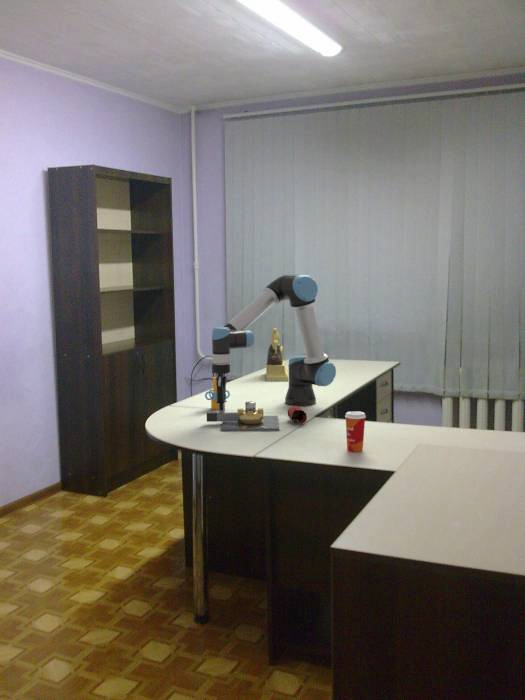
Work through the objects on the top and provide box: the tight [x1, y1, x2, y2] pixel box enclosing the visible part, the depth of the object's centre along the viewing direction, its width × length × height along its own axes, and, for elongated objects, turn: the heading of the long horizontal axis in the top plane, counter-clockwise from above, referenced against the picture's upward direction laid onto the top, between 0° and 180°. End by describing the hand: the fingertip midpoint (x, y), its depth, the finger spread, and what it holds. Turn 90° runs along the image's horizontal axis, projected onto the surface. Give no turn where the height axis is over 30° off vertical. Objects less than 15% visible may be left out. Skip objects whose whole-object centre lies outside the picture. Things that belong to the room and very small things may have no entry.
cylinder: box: [204, 376, 231, 411], centre depth 338 cm, size 12×10×15 cm
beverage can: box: [287, 405, 308, 426], centre depth 310 cm, size 7×12×7 cm, turn 8°
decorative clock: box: [265, 327, 289, 382], centre depth 426 cm, size 28×13×30 cm, turn 179°
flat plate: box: [220, 400, 280, 432], centre depth 305 cm, size 24×25×10 cm
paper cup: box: [344, 410, 367, 453], centre depth 262 cm, size 8×8×14 cm
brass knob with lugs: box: [206, 408, 264, 424], centre depth 305 cm, size 24×11×5 cm, turn 90°
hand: (221, 417), depth 308 cm, fingers closed
